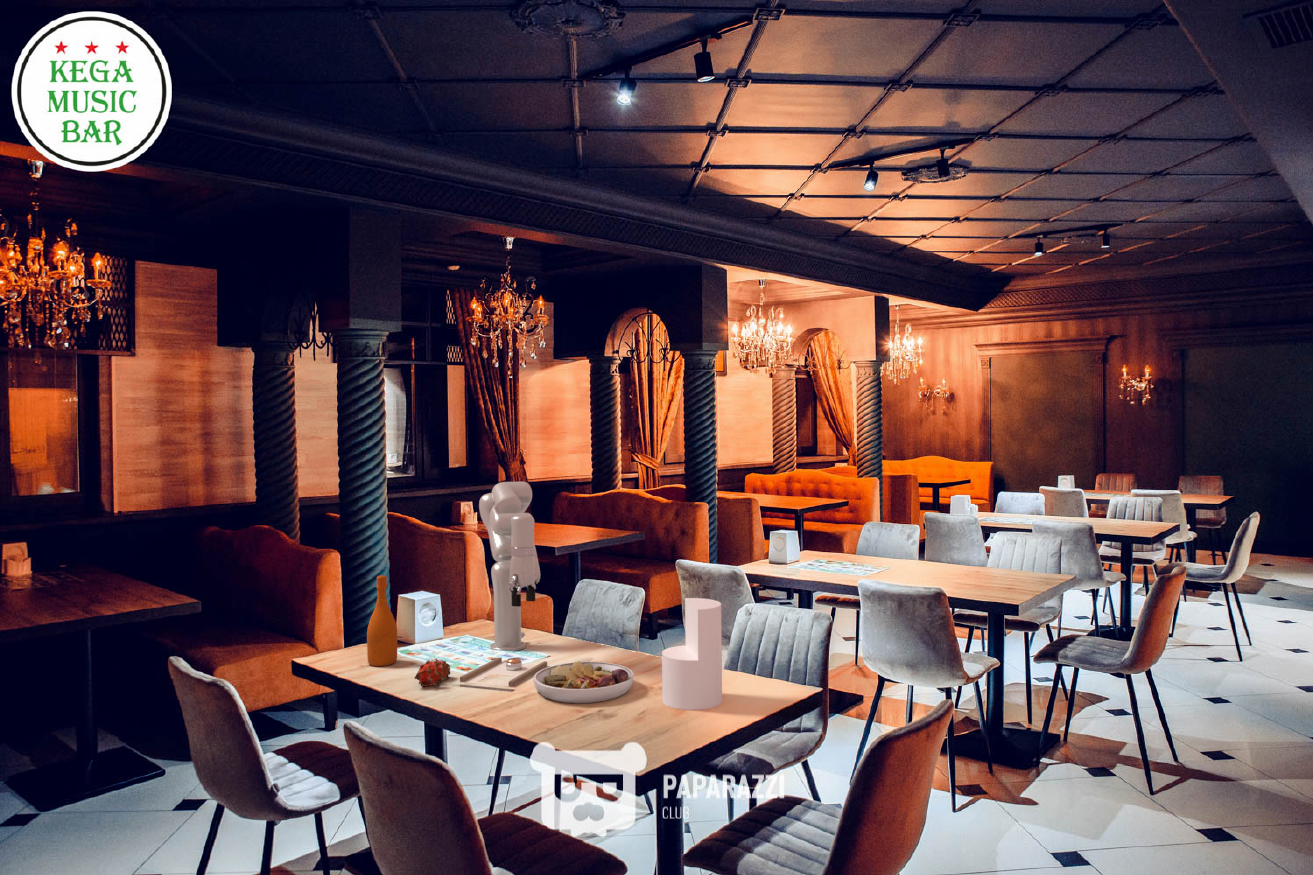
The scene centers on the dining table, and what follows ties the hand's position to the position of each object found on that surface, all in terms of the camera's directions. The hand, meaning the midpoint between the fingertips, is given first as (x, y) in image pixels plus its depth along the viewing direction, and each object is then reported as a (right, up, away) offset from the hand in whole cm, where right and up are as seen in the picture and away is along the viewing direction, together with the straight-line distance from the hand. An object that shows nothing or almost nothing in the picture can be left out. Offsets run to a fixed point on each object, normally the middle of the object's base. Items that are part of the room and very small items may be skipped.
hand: (523, 603), depth 284 cm
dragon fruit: (-25, -22, -20) cm, 39 cm away
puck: (-2, -20, -8) cm, 21 cm away
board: (-4, -21, -13) cm, 25 cm away
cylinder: (+55, -21, -37) cm, 69 cm away
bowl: (+22, -22, -26) cm, 41 cm away
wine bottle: (-49, -22, +6) cm, 54 cm away
